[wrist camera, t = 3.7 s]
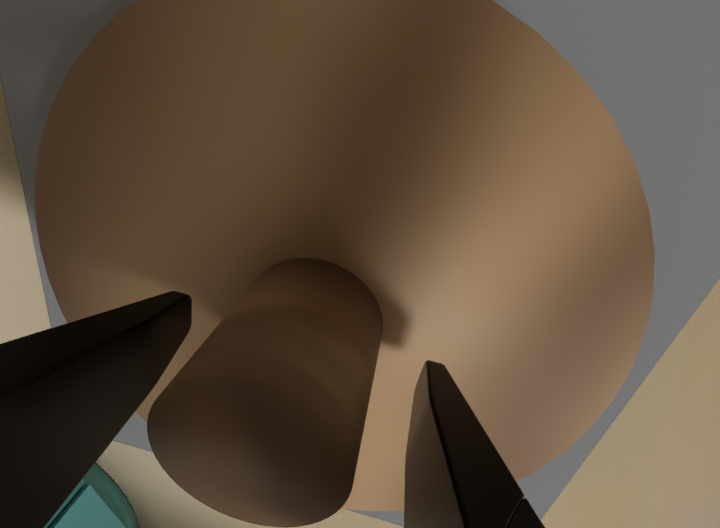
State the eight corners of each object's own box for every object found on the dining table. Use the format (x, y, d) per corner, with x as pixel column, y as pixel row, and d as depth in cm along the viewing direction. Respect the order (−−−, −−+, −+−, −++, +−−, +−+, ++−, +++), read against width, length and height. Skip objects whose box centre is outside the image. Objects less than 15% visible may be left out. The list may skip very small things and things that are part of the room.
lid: (810, 57, 7) (1450, 36, 2) (497, 535, 14) (525, 745, 9) (6, -114, 8) (-533, -343, 3) (95, 418, 15) (-44, 561, 10)
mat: (894, 10, 7) (920, 7, 6) (510, 546, 15) (511, 558, 14) (-34, -190, 7) (-57, -203, 7) (80, 419, 15) (71, 428, 15)
